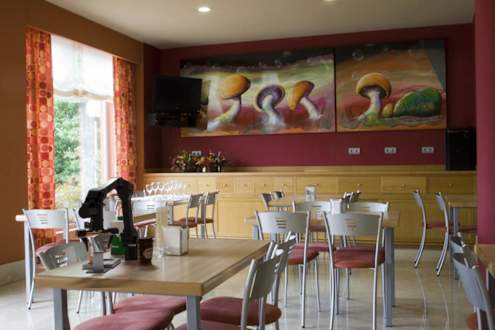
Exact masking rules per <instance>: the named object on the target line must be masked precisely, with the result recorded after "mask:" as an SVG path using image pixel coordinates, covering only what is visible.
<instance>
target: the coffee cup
mask: <svg viewBox="0 0 495 330" xmlns="http://www.w3.org/2000/svg"><path fill="white" fill-rule="evenodd" d="M154 241H155V240H154V237H153V236H140V237H139V238H138V240H137V241H136V243H137V246H138V258H139V259H138V265H139V266H150V265H153V261H152V260H153V254H154Z"/></svg>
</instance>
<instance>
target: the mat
mask: <svg viewBox="0 0 495 330" xmlns="http://www.w3.org/2000/svg"><path fill="white" fill-rule="evenodd" d="M111 269H112V268H104V270H102V271H93V268H91V269H87V271H85V274H106V273H107V272H108V271H110V270H111Z"/></svg>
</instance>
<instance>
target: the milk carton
mask: <svg viewBox="0 0 495 330" xmlns="http://www.w3.org/2000/svg"><path fill="white" fill-rule="evenodd" d="M108 223H109V227H117V228H118V229H119V234H116V236H114V238H113V240H112V242H111V244H110V255H119V256H122V255H125V253H124V250H126V249H125V247H123V246H122V242H121V235H120V233H121V232H122V231H123V229H124V224H123V215H118V216H117V219H114V220H110V221H108Z"/></svg>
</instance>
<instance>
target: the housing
mask: <svg viewBox="0 0 495 330" xmlns="http://www.w3.org/2000/svg"><path fill="white" fill-rule="evenodd" d="M103 260H104V268H111V269H114V268H115V267H116V266H118V265H119V264H120V263H121V262H122V258H121V257H110V258H109V257H106V258H104V257H103ZM91 268H93V264H89V260H88V261H86V262H84V263H83V264H82V270H90V269H91Z"/></svg>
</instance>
